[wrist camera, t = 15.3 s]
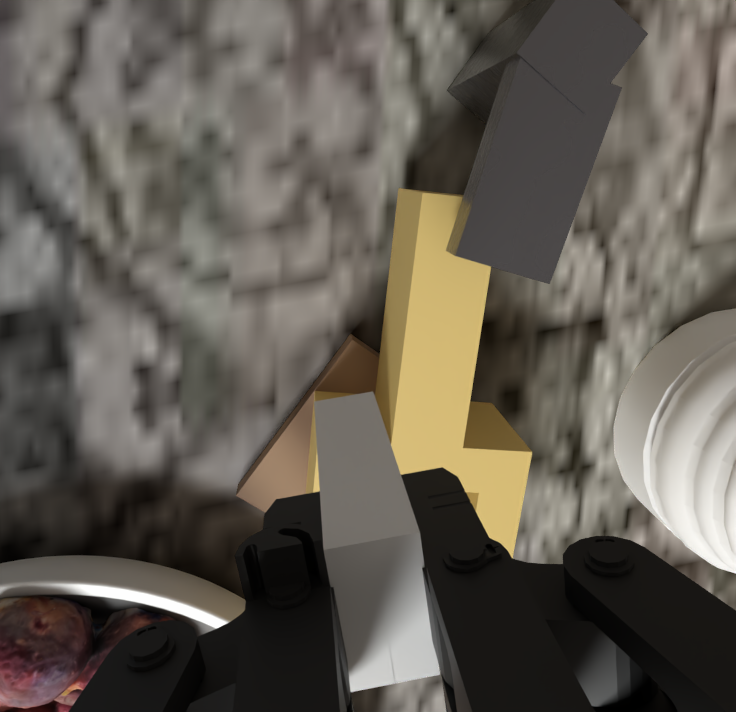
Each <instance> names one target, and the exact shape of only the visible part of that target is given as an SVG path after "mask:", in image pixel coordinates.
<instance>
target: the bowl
mask: <svg viewBox="0 0 736 712" xmlns="http://www.w3.org/2000/svg"><path fill="white" fill-rule="evenodd" d="M245 604H246V601H245V600H244V599H243V598H241V597H239V596H238V595H236V594H234V593H232V592H230V591H228V590H226V589H224V588H222V587H220V586H218V585H216V584H214V583H212V582H209V581H207V580H204V579H202V578H199V577H197V576H194V575H191V574H188V573H185V572H182V571H179V570H176V569H173V568H169V567H165V566H161V565H157V564H153V563H148V562H143V561H138V560H131V559H125V558H117V557H106V556H87V555H68V556H49V557H38V558H30V559H22V560H16V561H11V562H5V563H0V712H68V711H69V710H70V709H71V707H72V706H73V704H74V703H75V701H76V700H77V698H78V697H79V695H80V694H81V693H82V691H83V690H84V688H85V687H86V685H87V684H88V682H89V681H90V679H91V678H92V677H93V675H94V674H95V672H96V671H97V669H98V668H99V666H100V665H101V664H102V662H103V661H104V659H105V658H106V656H107V655H108V653H109V652H110V651H111V650H112V649H113V648H114V647H115V646H116V645H117V643H118V642H119V641H120V640H122V639H123V638H125V637H126V636H128V635H129V634H131V633H132V632H134V631H135V630H137V629H139V628H142V627H144V626H147V625H149V624H152V623H155V622H161V621H167V620H175V621H183V622H186V623H187V624H189V625H190V626H192V627H193V628H194V629H195V632H196V635H197V637H198V636H200V635H202V634H205V633H207V632H210V631H212V630H214V629H217V628H219V627H221V626H223V625H225V624H227V623H229V622H231V621H232V620H234V619H235V618H236V617H238V616H239V615H241V614H242V613H243V612H244V611H245Z"/></svg>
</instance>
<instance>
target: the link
mask: <svg viewBox="0 0 736 712" xmlns="http://www.w3.org/2000/svg"><path fill="white" fill-rule="evenodd" d="M463 196H464V195H458V194H448V193H439V192H430V191H421V190H411V189H402V188H399V190H398V199H397V207H396V216H395V225H394V234H393V242H392V251H391V260H390V269H389V277H388V286H387V295H386V304H385V312H384V321H383V330H382V339H381V347H380V356H379V365H378V374H377V382H376V391H375V395H374V396H375V399H376V402H377V405H378V408H379V411H380V414H381V417H382V420H383V423H384V426H385V429H386V432H387V435H388V438H389V441H390V444H391V447H392V450H393V453H394V456H395V459H396V462H397V465H398V468H399V471H400V474H401V475H403V474H408V473H414V472H419V471H425V470H430V469H436V468H441V467H443V468H444V469H446V470H448V471H449V472H451V473H453V474H454V475H456V476H457V477H458V478H459V480H460V482H461V484H462V486H463V488H464V490H465V492H466V493H467V495H468V497H469V499H470V503H472V505H473V507H474V509H475V511H476V513H477V515H478V517H479V519H480V521H481V523H482V525H483V527H484V528H485V530H486V532H487V534H488V536H489V538H491V539H493V540H495V541H497V542H499V543H501V544H502V545H503V546H504V547H505V548H506V549H507V550H508V552H509V554H510V555H511V557H512V558H513V552H514V547H515V542H516V536H517V531H518V526H519V520H520V515H521V510H522V504H523V499H524V494H525V488H526V483H527V478H528V472H529V467H530V462H531V456H532V451H531V450H530V449H529V448H528V446H527V445H526V444H525V443H524V441H523V440H522V439H521V438H520V437H519V435H518V434H517V433H516V432H515V431H514V429H513V428H512V427H511V426H510V424H509V423H508V422H507V421H506V420H505V418H504V417H503V416H502V415H501V414H500V412H499V411H498V410H497V409H496V407H495V406H494V405H493V404H492V403H487V402H472V401H470V399H471V393H472V386H473V380H474V373H475V367H476V360H477V354H478V348H479V341H480V335H481V328H482V322H483V316H484V309H485V303H486V296H487V290H488V284H489V277H490V271H491V266H487V265H484V264H480V263H477V262H474V261H470V260H467V259H464V258H460V257H457V256H454V255H452V254H451V253H449V252H447V251H446V248H447V245H448V242H449V239H450V236H451V232H452V229H453V226H454V223H455V220H456V217H457V214H458V211H459V208H460V205H461V202H462V199H463ZM349 395H355V394H352V393H337V392H322V391H315V393H314V401H320V400H326V399H332V398H338V397H343V396H349ZM319 491H320V487H319V472H318V456H317V440H316V425H315V409H314V404H313V415H312V427H311V438H310V449H309V461H308V472H307V484H306V494H308V493H313V492H319Z"/></svg>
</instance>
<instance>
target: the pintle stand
mask: <svg viewBox="0 0 736 712" xmlns="http://www.w3.org/2000/svg"><path fill="white" fill-rule="evenodd" d="M379 356H380V354H379V353H377V352H376V351H375V350H373V349H372V348H370V347H369V346H367V345H366V344H365V343H363V342H362V341H360V340H359V339H357V338H356V337H355V336H353V335H352V334H350V335H349V336H348V338H347V339H346V340H345V342H344V343H343V344H342V346H341V347H340V348H339V350H338V351H337V353H336V354H335V355H334V357H333V358H332V359H331V361H330V362H329V363H328V365H327V366H326V367H325V369H324V370H323V371H322V373H321V374H320V375H319V377H318V378H317V379H316V381H315V382H314V383H313V385H312V386H311V387H310V389H309V390H308V392H307V393H306V394H305V396H304V397H303V398H302V400H301V401H300V402H299V404H298V405H297V406H296V408H295V409H294V410H293V412H292V413H291V414H290V416H289V417H288V418H287V420H286V421H285V422H284V424H283V425H282V426H281V428H280V429H279V431H278V432H277V433H276V435H275V436H274V437H273V439H272V440H271V441H270V443H269V444H268V445H267V447H266V448H265V449H264V451H263V452H262V453H261V455H260V456H259V457H258V459H257V460H256V461H255V463H254V464H253V465H252V467H251V468H250V469H249V471H248V472H247V474H246V475H245V476H244V478H243V479H242V480H241V482H240V483H239V484H238V489H237V494H236V496H238V497H239V498H241V499H243V500H245V501H246V502H248V503H250V504H251V505H253V506H255V507H256V508H258V509H260V510H261V511H263V512H265V513H266V512H267V510H268V509H269V508H270V506H271V505H272V504H273V502H274V501H275V500H276V499H280V498H286V497H291V496H297V495H302V494H306V484H307V472H308V461H309V449H310V438H311V427H312V415H313V404H314V393H315V391H322V392H337V393H352V394H361V393H366V392H372V391H373V393H374V395H375V391H376V382H377V374H378V365H379Z"/></svg>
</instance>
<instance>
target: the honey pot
mask: <svg viewBox="0 0 736 712" xmlns="http://www.w3.org/2000/svg"><path fill="white" fill-rule="evenodd" d="M613 428H614V454H615V457H616V460H617V463H618V466H619V469H620V472H621V475H622V478H623V480H624V481H625V483H626V484H627V485H628V487H629V488H630V489H631V491H632V492H633V494H634V495H635V496H636V498H637V499H638V500H639V501H640V502H641V503H642V504H643V505H644V506H645V507H646V508H647V509H648V510H649V511H650V512H651V513H652V514H653V515H654V516H655V517H656V518H657V519H658V520H660V521H661V522H662V523H663V524H664V525H665V526H666V527H667V528H668V529H669V530H670V531H672V532H673V533H674V535H675V536H676V537H678V538H679V539H680V540H682V542H683V543H684V544H685V546H686V547H688V548H689V549H690V550H692V551H693V552H695V553H696V554H697V555H699V556H700V557H702V558H703V559H705V560H706V561H707V562H709V563H710V564H712V565H714V566H716V567H717V568H720V569H723V570H726V571H729V572H732V573H735V574H736V308H735V309H729V310H723V311H717V312H711V313H709V314H706V315H704V316H702V317H700V318H697V319H695V320H693V321H691V322H688V323H686V324H684V325H682V326H680V327H679V328H678V329H676V330H675V331H674V332H672V333H671V334H670V335H668V336H667V337H666V338H664V339H663V340H662V341H660V342H659V343H658V344H656V345H655V346H654V347H653V349H652V350H651V351H650V352H649V353H648V354H647V356H646V357H645V358H644V359H643V360H642V362H641V363H640V364H639V365H638V366H637V367H636V369H635V370H634V372H633V374H632V376H631V378H630V380H629V382H628V384H627V385H626V387H625V389H624V391H623V393H622V395H621V397H620V401H619V405H618V409H617V414H616V418H615V422H614V426H613Z"/></svg>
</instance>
